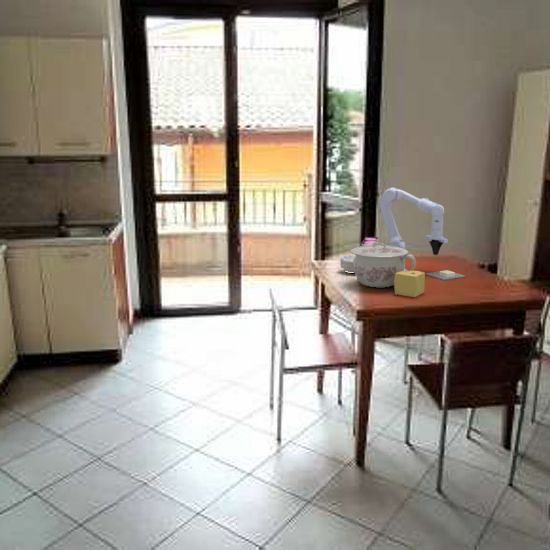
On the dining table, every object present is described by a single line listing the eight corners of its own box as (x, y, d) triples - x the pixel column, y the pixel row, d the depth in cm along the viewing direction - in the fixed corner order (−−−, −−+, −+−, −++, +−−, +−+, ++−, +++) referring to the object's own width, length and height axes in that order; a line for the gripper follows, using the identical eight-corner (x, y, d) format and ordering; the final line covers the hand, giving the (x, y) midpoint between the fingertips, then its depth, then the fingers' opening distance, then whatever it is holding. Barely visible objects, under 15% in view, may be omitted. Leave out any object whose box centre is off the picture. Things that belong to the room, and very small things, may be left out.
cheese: (403, 289, 258) (404, 268, 255) (425, 293, 251) (426, 271, 248) (393, 294, 250) (394, 273, 247) (415, 298, 243) (416, 276, 241)
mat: (444, 280, 272) (444, 279, 272) (425, 274, 284) (425, 273, 284) (465, 277, 278) (465, 275, 278) (446, 271, 290) (446, 270, 290)
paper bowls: (369, 276, 284) (369, 261, 282) (339, 275, 286) (339, 260, 284) (369, 269, 298) (369, 255, 296) (341, 268, 301) (341, 254, 299)
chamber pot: (339, 281, 274) (340, 240, 270) (386, 275, 284) (388, 236, 279) (368, 295, 249) (369, 250, 244) (419, 288, 259) (421, 245, 254)
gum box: (374, 269, 298) (375, 244, 295) (359, 268, 301) (360, 244, 297) (378, 260, 321) (378, 237, 318) (364, 259, 323) (365, 236, 320)
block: (439, 275, 280) (447, 277, 275) (439, 271, 280) (447, 273, 275) (446, 273, 282) (454, 276, 277) (446, 270, 282) (455, 272, 277)
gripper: (453, 229, 277) (451, 256, 280) (433, 226, 289) (432, 251, 293) (442, 231, 274) (440, 257, 277) (422, 227, 286) (421, 252, 290)
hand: (435, 254), depth 285 cm, fingers closed
